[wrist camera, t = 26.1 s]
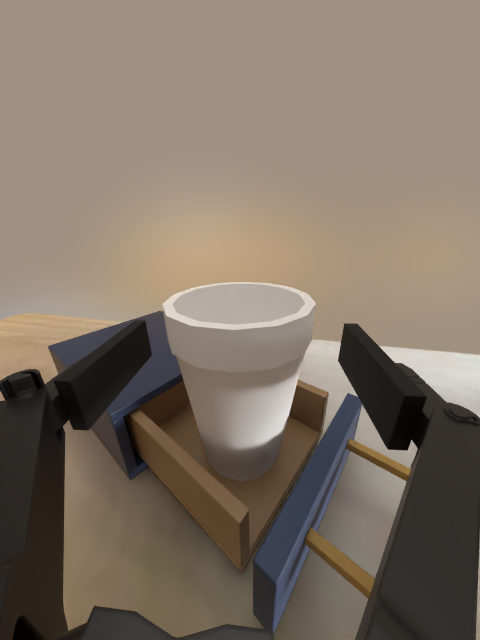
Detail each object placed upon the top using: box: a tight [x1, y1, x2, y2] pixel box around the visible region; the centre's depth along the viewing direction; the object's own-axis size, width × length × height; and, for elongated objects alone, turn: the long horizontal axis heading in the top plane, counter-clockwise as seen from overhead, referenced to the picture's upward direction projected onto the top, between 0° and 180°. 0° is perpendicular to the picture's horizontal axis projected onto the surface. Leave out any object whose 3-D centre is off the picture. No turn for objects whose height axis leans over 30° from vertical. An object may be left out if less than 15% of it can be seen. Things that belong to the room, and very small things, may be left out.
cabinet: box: [48, 311, 183, 480], centre depth 28 cm, size 17×15×7 cm
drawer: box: [123, 380, 411, 635], centre depth 18 cm, size 22×13×5 cm, turn 50°
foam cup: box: [162, 282, 316, 482], centre depth 17 cm, size 10×9×13 cm
